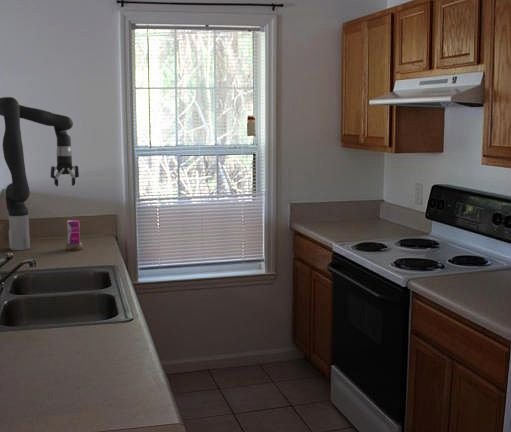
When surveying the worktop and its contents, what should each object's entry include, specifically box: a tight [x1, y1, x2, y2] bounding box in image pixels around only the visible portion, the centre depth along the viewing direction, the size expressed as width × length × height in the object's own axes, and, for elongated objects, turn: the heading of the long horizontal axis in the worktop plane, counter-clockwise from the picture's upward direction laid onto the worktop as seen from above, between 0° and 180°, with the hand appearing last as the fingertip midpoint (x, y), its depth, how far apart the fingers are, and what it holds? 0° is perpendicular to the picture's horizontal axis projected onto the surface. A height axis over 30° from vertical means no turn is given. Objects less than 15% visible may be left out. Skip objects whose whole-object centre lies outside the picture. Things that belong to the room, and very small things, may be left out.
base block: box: [65, 241, 83, 252], centre depth 339 cm, size 8×8×3 cm
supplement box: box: [66, 219, 81, 245], centre depth 338 cm, size 6×6×12 cm
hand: (65, 185), depth 356 cm, fingers open, 8 cm apart
